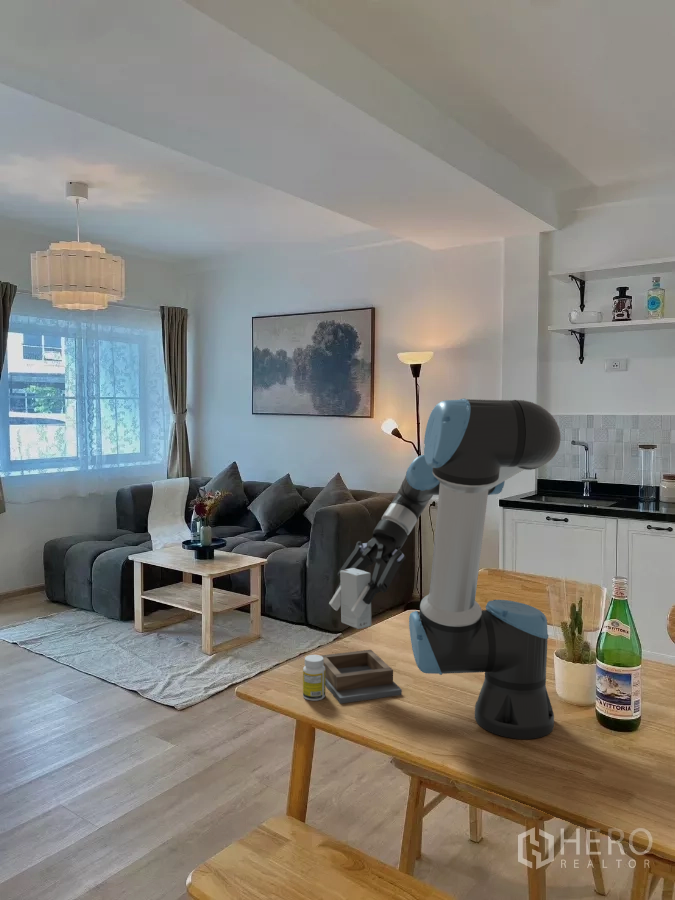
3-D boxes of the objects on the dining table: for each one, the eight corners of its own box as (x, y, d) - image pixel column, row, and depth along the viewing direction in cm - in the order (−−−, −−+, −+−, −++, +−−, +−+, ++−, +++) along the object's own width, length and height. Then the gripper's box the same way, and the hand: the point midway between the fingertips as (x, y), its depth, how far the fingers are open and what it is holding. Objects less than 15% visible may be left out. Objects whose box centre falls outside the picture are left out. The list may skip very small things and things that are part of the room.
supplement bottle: (312, 690, 151) (312, 652, 151) (329, 695, 149) (330, 657, 148) (298, 697, 147) (298, 658, 147) (316, 703, 145) (316, 663, 144)
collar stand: (401, 694, 149) (402, 675, 149) (339, 703, 145) (340, 683, 144) (367, 661, 168) (367, 644, 168) (311, 668, 163) (311, 650, 163)
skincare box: (372, 626, 155) (373, 572, 154) (356, 630, 152) (357, 575, 151) (354, 618, 160) (354, 566, 159) (339, 622, 157) (339, 569, 156)
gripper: (433, 543, 158) (384, 630, 148) (371, 531, 172) (322, 610, 162) (419, 523, 154) (367, 611, 144) (357, 512, 168) (305, 592, 158)
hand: (344, 610), depth 153 cm, fingers closed on skincare box, 6 cm apart
